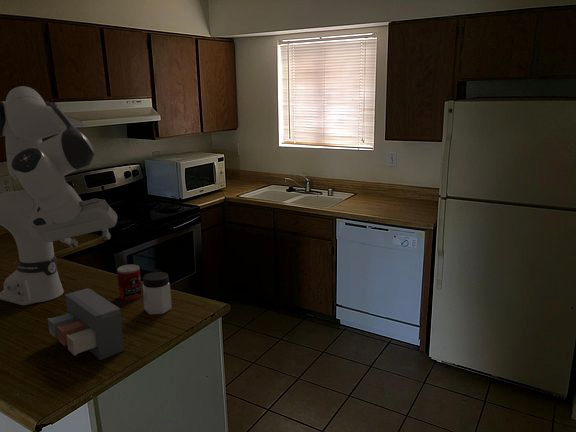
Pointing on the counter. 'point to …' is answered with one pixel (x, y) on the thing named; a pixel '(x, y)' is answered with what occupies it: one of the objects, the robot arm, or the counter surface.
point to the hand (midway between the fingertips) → (91, 241)
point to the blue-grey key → (59, 322)
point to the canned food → (129, 282)
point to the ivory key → (81, 341)
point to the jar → (156, 293)
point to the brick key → (69, 330)
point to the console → (98, 320)
